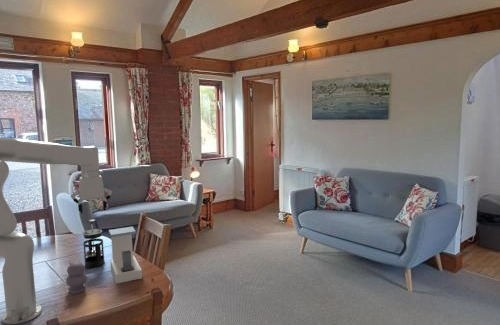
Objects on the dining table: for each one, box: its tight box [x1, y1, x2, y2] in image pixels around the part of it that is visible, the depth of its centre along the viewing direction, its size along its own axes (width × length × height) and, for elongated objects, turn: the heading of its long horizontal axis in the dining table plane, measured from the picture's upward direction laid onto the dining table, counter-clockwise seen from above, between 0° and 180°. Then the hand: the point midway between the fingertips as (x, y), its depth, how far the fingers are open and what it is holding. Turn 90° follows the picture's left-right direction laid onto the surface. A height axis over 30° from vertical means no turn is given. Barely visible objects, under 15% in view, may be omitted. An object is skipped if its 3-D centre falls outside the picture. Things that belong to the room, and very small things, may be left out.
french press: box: [82, 218, 106, 270], centre depth 178 cm, size 12×9×23 cm
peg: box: [122, 250, 132, 272], centre depth 165 cm, size 3×3×12 cm
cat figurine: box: [65, 260, 88, 295], centre depth 154 cm, size 8×8×12 cm
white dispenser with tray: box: [108, 226, 143, 284], centre depth 170 cm, size 19×11×19 cm, turn 27°
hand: (93, 211), depth 165 cm, fingers open, 9 cm apart
